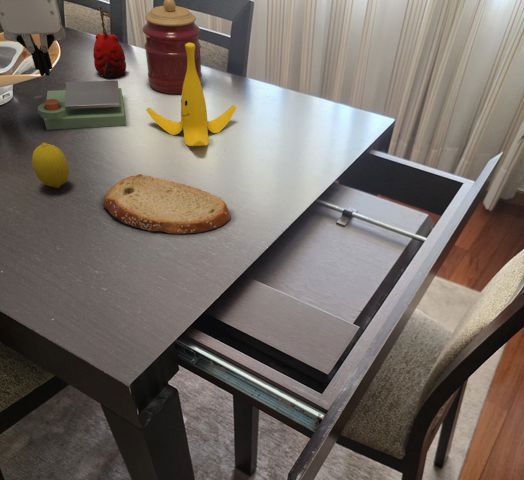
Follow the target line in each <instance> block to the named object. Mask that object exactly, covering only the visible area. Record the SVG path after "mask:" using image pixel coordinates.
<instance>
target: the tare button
mask: <svg viewBox="0 0 524 480" xmlns="http://www.w3.org/2000/svg"><path fill="white" fill-rule="evenodd" d="M43 103H44V104H45V108H46V110H57V109H60V105H59V101H58V100H56V99H48V100H44V102H43Z"/></svg>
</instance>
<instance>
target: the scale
mask: <svg viewBox="0 0 524 480" xmlns="http://www.w3.org/2000/svg"><path fill="white" fill-rule="evenodd" d="M46 93H47V94H46V100H48V99H56V100H58V101H59V105H60V109H57V110H46V108H45V104H44V102H43V103H41V104H39V105H37V111H38V115H39V117H40V118H42V119H43V123H44V126H45V130H48V131H49V130H50V131H51V130H64V129H65V130H66V129H67V130H69V129H85V128H86V129H87V128H88V129H89V128H105V127H106V128H107V127H124V126H125V127H126V126H127V122H126V114H125V104H124V96H123V90H122V87H119V96H120V105H121V107H102V108H79V109H65V94H66V89H63V90H62V89H60V90H59V89H58V90H47V91H46ZM46 100H45V101H46Z"/></svg>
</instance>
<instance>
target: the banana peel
mask: <svg viewBox="0 0 524 480" xmlns="http://www.w3.org/2000/svg"><path fill="white" fill-rule="evenodd" d="M185 48H186V52H187V71H186V76H185V80H184V84H183V90H182V94H181V100H180V121H178V122H176V121H173V120H170V119H168V118H166V117H164V116H162V115H160V114H159V113H158V112H156V111H154V110H153V109H152V108H151V107H147V108H146V109H145V111H146V112H147V114H148V115H149V117H150V118H151V119H152V120H153V121H154V123H156V124H157V126H159V127H160V128H161V129H163V130H164V131H165V132H167V133H168V134H169V135H172V136H173V135H178V134H180V133H181V132H182V131H183V139H184V144H185V145H186V146H188V147H198V146H199V147H201V146H208V145H209V144H210V139H209V132H211V133H213V134H219V133H220V132H221V131H222V130H223V129H224V128H225V127H226V126H227V124H228V123H229V122H230V120H231V119H232V117H233V115H234V114H235V112H236V109H237V106H236V105H235V104H232V105H231V106H230V107H229V108H228V109H227V110H226V111H224V112H223V113H222V114H221V115H219V116H217V117H216V118H214V119H212V120H209V121H208V111H207V105H206V104H207V103H206V99H205V94H204V91H203V86H202V82H201V83H200V80H199V77H198V74H197V71H196V67H195V59H194V52H195V44H193V43H186V44H185Z"/></svg>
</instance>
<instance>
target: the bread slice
mask: <svg viewBox="0 0 524 480" xmlns="http://www.w3.org/2000/svg"><path fill="white" fill-rule="evenodd" d="M102 206H103V208H104V209H106V210H107V211H108V212H109V214H111V216H112V217H114V218H115V219H117V220H118V221H119V222H121V223H123V224H125V225H129V226H132V227H134V228H138V229H141V230H146V231H148V232H164V233H166V234H176V235H177V234H178V235H182V234H183V235H184V234H199V233H202V232H207V231H210V230H214V229H217V228H219V227H221V226H223V225H225V224H226V223H227V222H229V221H231V217H232V216H231V211H230V210H229V208H228V206H227V204H226V202H225V201H224V199H222V197H219V196H217V195H215V194H212V193H211V192H209V191H205V190H201V189H200V188H198V187H193V186H191V185H187V184H185V183H181V182H176V181H173V180H167V179H165V178H159V177H155V176H151V175H144V174H142V173H139V174H136V175H130V176H127V177H126V178H123V179H121V180H120V181H119V182H117V183H115V184H114V185H113V186H112V187H111V188H110V189H109V190H108V192H107V193H106V195H105V196H104V199H103V202H102Z"/></svg>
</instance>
